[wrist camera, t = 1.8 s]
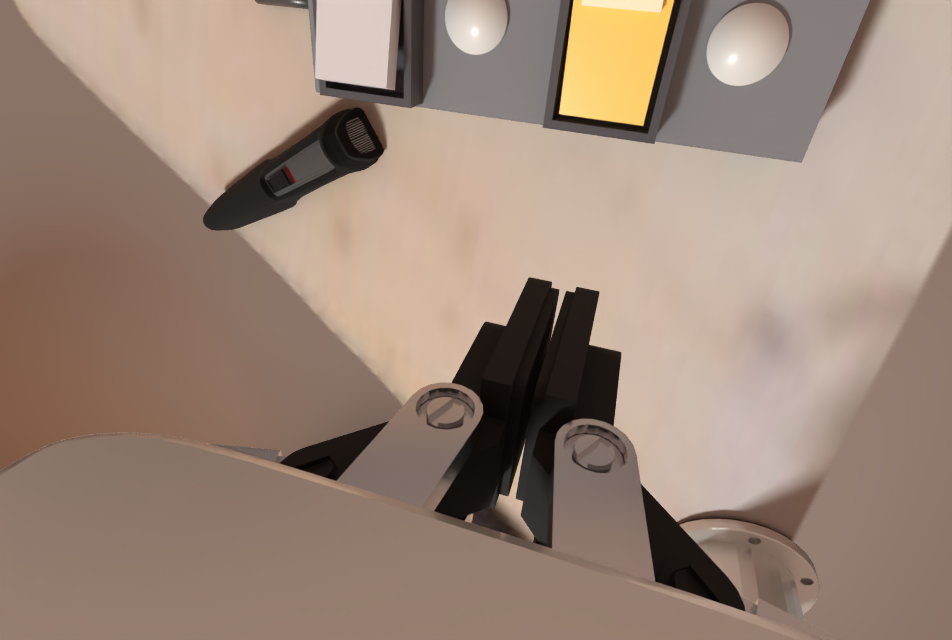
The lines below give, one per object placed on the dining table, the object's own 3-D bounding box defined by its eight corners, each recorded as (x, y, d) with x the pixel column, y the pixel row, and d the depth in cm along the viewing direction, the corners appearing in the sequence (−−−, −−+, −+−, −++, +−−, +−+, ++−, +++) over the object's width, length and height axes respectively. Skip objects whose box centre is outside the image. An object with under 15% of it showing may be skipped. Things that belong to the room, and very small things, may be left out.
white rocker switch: (394, 90, 26) (383, 87, 25) (325, 80, 27) (311, 77, 26) (406, -74, 23) (394, -86, 22) (330, -79, 24) (314, -91, 23)
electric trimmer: (217, 189, 40) (185, 202, 37) (361, 100, 32) (334, 108, 30) (245, 232, 41) (217, 247, 39) (390, 156, 34) (366, 168, 31)
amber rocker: (644, 117, 24) (642, 128, 23) (563, 106, 25) (557, 117, 24) (689, -64, 19) (688, -58, 19) (586, -70, 20) (580, -65, 19)
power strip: (788, 148, 26) (809, 171, 23) (274, 76, 33) (224, 84, 29) (876, -69, 21) (921, -86, 18) (251, -102, 28) (188, -120, 24)
